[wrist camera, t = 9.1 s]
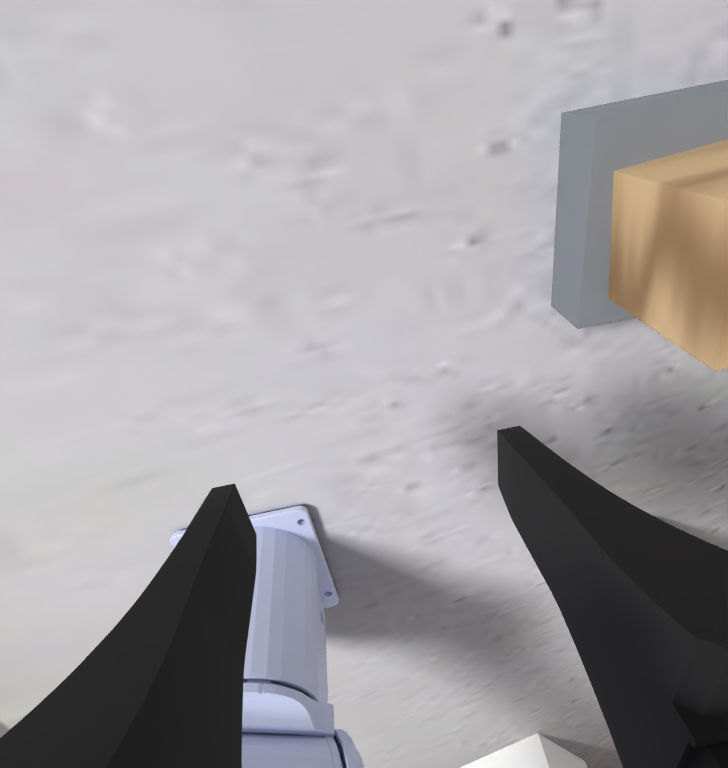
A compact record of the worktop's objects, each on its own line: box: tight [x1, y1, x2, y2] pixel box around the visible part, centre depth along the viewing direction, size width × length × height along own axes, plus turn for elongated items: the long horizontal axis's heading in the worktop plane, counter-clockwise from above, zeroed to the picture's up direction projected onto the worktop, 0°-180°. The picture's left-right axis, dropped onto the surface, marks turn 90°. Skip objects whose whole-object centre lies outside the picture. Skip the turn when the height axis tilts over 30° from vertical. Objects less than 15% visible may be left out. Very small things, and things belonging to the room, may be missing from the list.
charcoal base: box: [551, 80, 728, 329], centre depth 19 cm, size 8×8×3 cm
